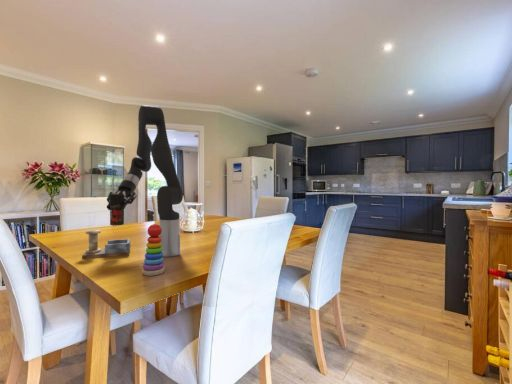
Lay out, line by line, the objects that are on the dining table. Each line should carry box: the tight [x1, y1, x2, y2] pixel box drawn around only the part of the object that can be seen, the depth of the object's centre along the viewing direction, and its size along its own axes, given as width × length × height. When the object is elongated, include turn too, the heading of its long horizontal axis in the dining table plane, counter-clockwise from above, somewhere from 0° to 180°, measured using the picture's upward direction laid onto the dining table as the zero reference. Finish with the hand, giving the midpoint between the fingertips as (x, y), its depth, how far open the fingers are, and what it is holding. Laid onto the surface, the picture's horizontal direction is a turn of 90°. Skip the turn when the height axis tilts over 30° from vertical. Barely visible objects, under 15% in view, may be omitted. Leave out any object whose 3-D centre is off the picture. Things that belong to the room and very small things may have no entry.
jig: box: [81, 229, 131, 260], centre depth 124 cm, size 19×11×12 cm, turn 114°
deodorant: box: [109, 194, 125, 226], centre depth 126 cm, size 6×6×15 cm
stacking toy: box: [141, 223, 165, 277], centre depth 98 cm, size 8×8×19 cm
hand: (114, 209), depth 124 cm, fingers closed on deodorant, 6 cm apart
